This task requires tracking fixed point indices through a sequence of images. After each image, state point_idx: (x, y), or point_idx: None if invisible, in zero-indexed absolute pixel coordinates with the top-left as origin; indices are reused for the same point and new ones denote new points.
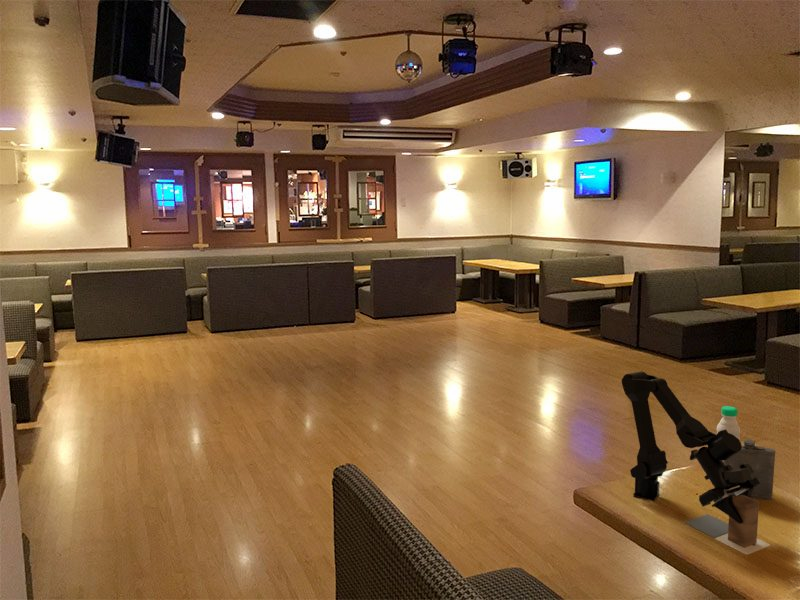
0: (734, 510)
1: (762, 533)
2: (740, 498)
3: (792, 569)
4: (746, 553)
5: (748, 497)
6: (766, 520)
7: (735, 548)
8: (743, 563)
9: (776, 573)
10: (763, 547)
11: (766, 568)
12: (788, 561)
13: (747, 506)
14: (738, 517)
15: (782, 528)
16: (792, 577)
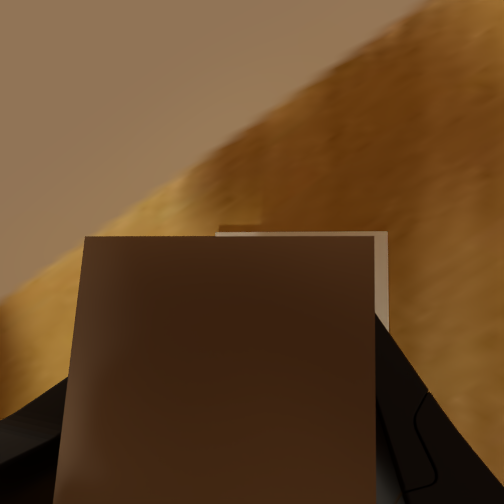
0: (420, 394)
1: None
2: (197, 479)
3: (309, 86)
4: (377, 239)
5: (76, 404)
6: (51, 365)
7: (382, 296)
8: (462, 199)
9: (398, 87)
10: (260, 234)
11: (400, 128)
12: (267, 131)
13: (351, 240)
14: (384, 326)
15: (65, 294)
16: (366, 46)
